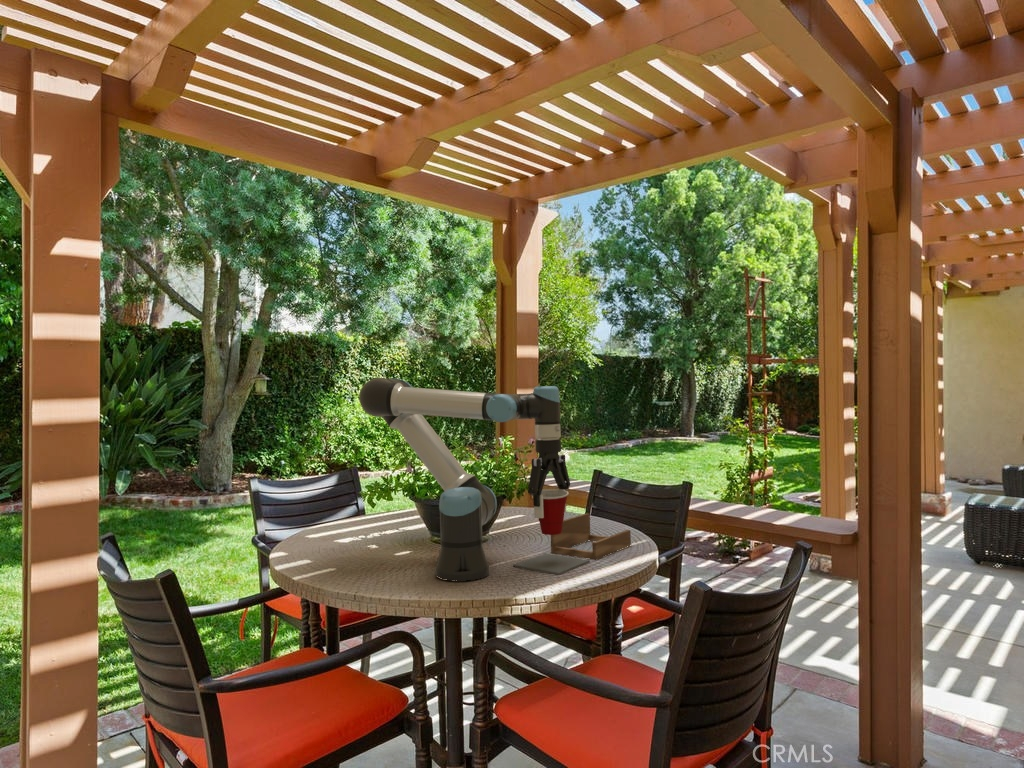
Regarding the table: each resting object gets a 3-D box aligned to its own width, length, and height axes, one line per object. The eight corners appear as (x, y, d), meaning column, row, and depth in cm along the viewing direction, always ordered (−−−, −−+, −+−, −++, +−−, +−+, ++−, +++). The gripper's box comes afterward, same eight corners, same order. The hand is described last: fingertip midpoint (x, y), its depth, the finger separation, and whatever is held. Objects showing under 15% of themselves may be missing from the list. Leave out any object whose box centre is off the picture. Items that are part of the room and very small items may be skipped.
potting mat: (513, 566, 189) (513, 564, 189) (545, 555, 201) (545, 553, 201) (558, 575, 179) (558, 572, 179) (589, 562, 192) (589, 560, 192)
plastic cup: (530, 537, 186) (528, 494, 186) (535, 529, 197) (534, 489, 197) (568, 537, 184) (566, 494, 184) (571, 529, 195) (570, 489, 195)
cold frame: (551, 552, 204) (550, 524, 204) (587, 539, 221) (586, 513, 221) (596, 560, 194) (595, 529, 194) (630, 545, 211) (630, 517, 211)
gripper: (534, 442, 179) (537, 522, 179) (580, 436, 198) (582, 509, 197) (513, 441, 184) (515, 520, 184) (559, 436, 202) (562, 507, 202)
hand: (550, 514), depth 190 cm, fingers closed on plastic cup, 11 cm apart
